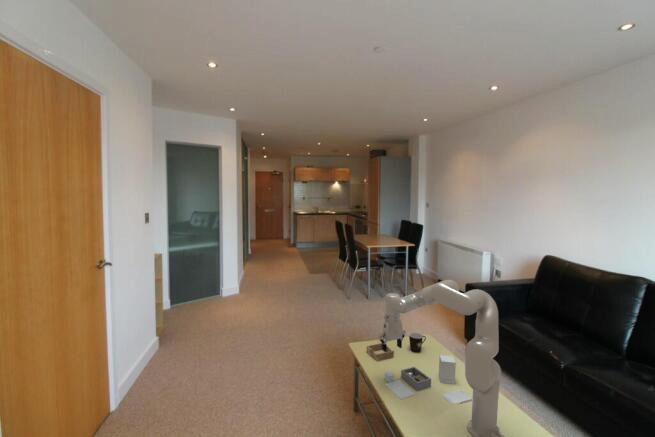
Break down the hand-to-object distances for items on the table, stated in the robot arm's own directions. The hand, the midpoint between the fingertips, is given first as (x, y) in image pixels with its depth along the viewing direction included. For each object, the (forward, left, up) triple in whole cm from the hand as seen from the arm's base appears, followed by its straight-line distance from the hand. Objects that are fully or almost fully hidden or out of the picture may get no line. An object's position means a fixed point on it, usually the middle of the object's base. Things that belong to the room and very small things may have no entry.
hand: (391, 348), depth 165 cm
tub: (-6, -12, -19) cm, 23 cm away
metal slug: (-2, -11, -18) cm, 21 cm away
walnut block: (-9, -12, -18) cm, 23 cm away
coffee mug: (+22, -38, -19) cm, 48 cm away
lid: (-6, 0, -19) cm, 19 cm away
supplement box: (-11, -29, -19) cm, 36 cm away
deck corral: (+27, -12, -19) cm, 35 cm away
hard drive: (-24, -22, -19) cm, 38 cm away
